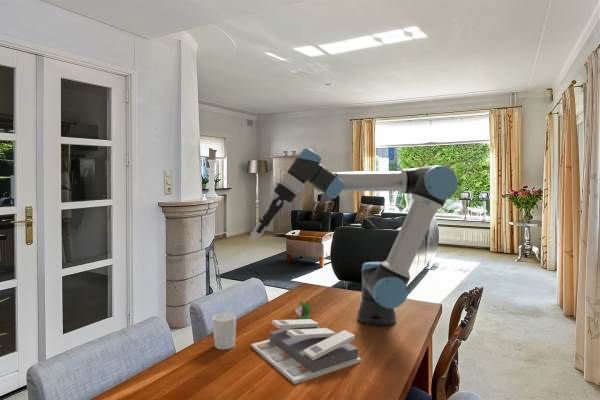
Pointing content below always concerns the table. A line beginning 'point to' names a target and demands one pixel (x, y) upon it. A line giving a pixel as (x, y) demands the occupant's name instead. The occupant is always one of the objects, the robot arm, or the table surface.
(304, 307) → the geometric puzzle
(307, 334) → the bar
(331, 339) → the rocker
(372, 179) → the robot arm
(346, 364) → the switch unit
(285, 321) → the rocker
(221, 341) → the white cup
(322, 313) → the table surface
